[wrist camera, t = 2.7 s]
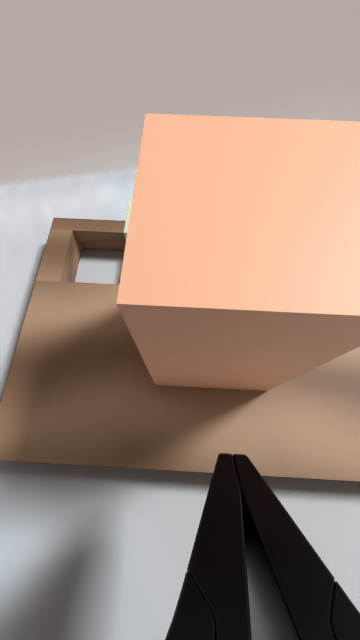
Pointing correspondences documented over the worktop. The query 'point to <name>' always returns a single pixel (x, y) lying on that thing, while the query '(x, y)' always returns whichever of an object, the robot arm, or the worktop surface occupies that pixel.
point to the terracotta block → (243, 249)
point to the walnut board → (155, 390)
